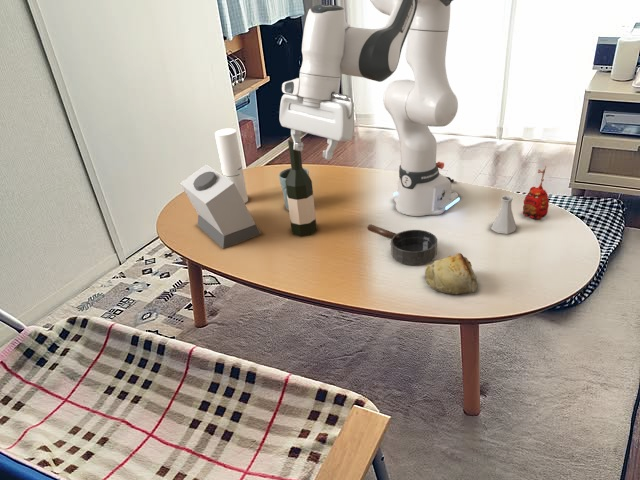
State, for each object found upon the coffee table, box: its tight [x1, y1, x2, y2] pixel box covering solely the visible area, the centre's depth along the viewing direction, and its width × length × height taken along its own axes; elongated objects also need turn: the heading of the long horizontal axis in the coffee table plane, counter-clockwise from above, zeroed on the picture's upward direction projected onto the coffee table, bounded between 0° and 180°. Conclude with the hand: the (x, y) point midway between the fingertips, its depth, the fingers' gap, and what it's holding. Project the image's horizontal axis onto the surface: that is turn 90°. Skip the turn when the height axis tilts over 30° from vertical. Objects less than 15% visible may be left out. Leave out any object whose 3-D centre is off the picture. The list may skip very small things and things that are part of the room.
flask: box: [490, 195, 517, 235], centre depth 166 cm, size 7×7×10 cm
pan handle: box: [366, 223, 400, 241], centre depth 167 cm, size 12×2×2 cm, turn 44°
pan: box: [390, 229, 438, 266], centre depth 160 cm, size 13×13×4 cm
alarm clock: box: [179, 163, 262, 249], centre depth 178 cm, size 20×16×20 cm
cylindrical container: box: [214, 127, 249, 204], centre depth 194 cm, size 7×7×25 cm
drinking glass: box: [278, 167, 310, 211], centre depth 191 cm, size 10×10×12 cm
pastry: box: [424, 252, 478, 296], centre depth 146 cm, size 14×12×8 cm
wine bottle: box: [285, 135, 318, 238], centre depth 171 cm, size 8×8×30 cm
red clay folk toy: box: [522, 165, 550, 221], centre depth 170 cm, size 8×7×15 cm
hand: (312, 154), depth 127 cm, fingers open, 8 cm apart
